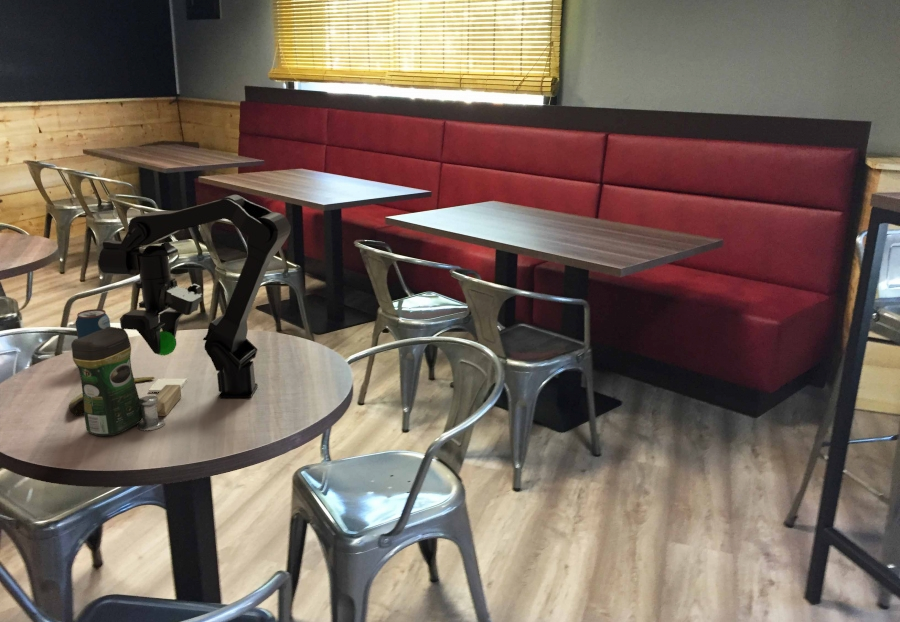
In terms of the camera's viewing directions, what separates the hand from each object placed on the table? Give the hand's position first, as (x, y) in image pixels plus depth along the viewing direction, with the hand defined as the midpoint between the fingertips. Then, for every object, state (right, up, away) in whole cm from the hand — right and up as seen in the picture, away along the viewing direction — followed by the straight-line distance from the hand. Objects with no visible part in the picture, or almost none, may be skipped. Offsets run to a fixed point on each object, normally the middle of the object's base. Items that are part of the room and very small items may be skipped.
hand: (164, 349), depth 153 cm
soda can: (-21, -4, +16) cm, 26 cm away
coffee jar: (-3, -14, -15) cm, 21 cm away
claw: (-10, -10, -2) cm, 15 cm away
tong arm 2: (+4, -11, -8) cm, 14 cm away
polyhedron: (0, -1, 0) cm, 1 cm away
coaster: (0, -8, +3) cm, 9 cm away
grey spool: (+3, -13, -15) cm, 20 cm away
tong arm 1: (+2, -11, -8) cm, 14 cm away
